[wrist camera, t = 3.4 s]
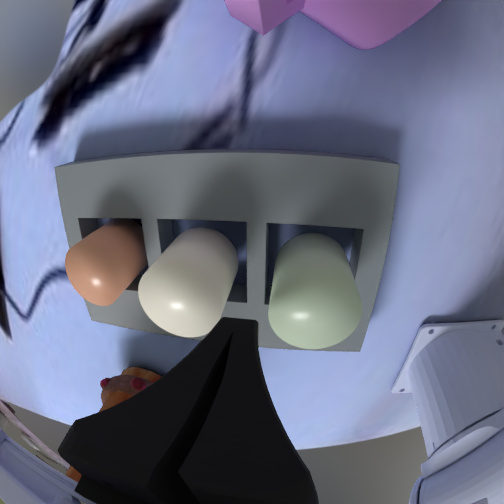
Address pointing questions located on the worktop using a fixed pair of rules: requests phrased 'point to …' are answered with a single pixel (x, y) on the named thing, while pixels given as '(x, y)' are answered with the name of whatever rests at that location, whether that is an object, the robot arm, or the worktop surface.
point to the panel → (236, 216)
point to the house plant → (3, 421)
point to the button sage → (313, 293)
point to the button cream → (190, 282)
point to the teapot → (337, 16)
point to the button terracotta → (107, 261)
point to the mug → (120, 394)
